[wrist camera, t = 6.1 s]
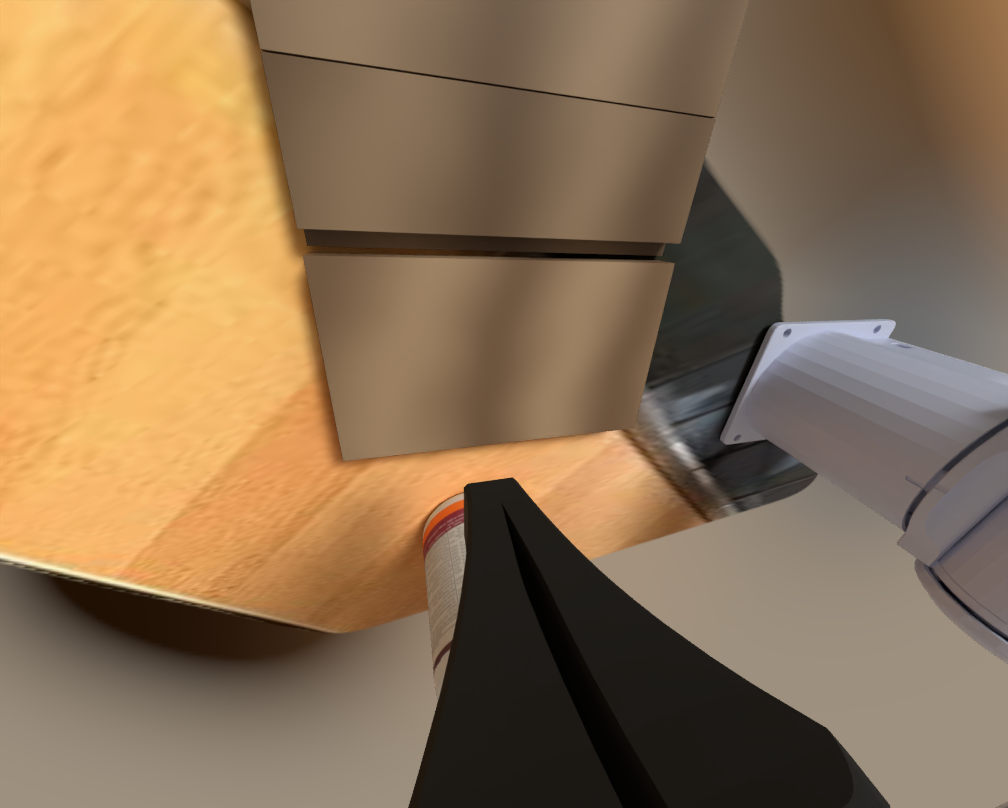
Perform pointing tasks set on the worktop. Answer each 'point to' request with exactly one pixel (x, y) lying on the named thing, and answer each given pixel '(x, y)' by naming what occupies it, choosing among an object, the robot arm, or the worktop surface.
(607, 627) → the robot arm
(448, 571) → the pill bottle
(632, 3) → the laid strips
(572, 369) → the plank
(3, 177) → the worktop surface
